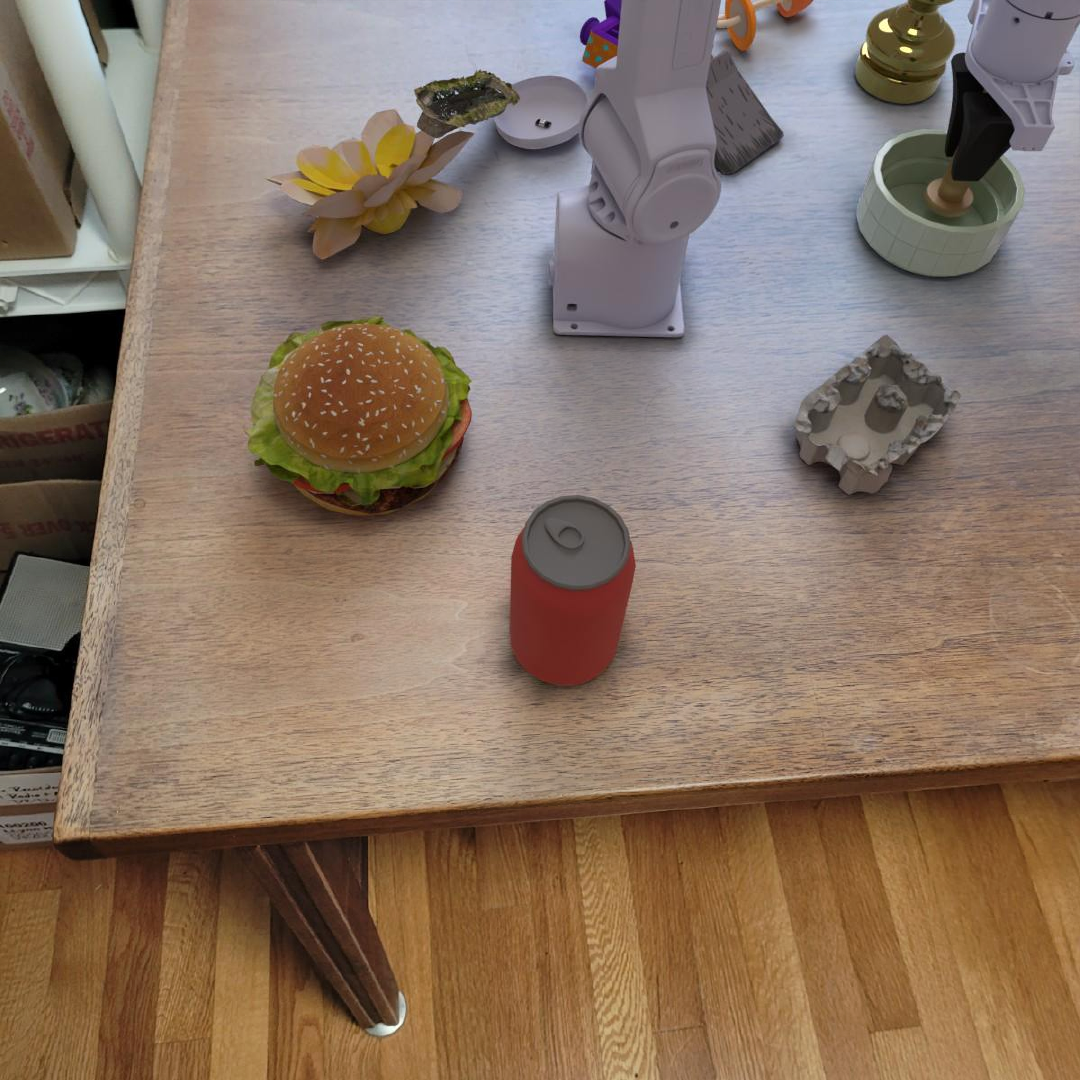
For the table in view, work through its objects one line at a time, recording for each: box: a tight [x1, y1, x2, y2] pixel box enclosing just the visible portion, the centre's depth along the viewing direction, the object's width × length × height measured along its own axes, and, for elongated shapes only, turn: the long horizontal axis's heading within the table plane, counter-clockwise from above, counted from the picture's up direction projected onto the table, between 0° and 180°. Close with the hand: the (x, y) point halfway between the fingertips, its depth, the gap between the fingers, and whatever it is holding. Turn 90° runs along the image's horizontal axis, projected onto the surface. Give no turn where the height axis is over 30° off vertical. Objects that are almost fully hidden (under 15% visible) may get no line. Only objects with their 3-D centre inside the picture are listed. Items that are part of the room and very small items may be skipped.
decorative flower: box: [264, 108, 476, 260], centre depth 77 cm, size 15×11×10 cm
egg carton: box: [793, 334, 961, 495], centre depth 70 cm, size 11×8×4 cm
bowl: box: [855, 128, 1026, 278], centre depth 80 cm, size 11×11×5 cm
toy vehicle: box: [579, 0, 785, 175], centre depth 84 cm, size 9×21×15 cm, turn 42°
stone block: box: [413, 69, 520, 139], centre depth 79 cm, size 14×4×5 cm
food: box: [243, 315, 473, 517], centre depth 67 cm, size 14×14×8 cm
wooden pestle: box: [924, 88, 988, 217], centre depth 76 cm, size 4×4×11 cm
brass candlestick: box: [854, 0, 956, 105], centre depth 87 cm, size 7×7×10 cm
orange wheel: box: [716, 0, 815, 52], centre depth 92 cm, size 7×8×15 cm
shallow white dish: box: [492, 75, 588, 150], centre depth 86 cm, size 8×8×2 cm
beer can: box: [509, 494, 637, 687], centre depth 58 cm, size 7×7×12 cm
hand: (961, 166), depth 78 cm, fingers closed on wooden pestle, 2 cm apart
